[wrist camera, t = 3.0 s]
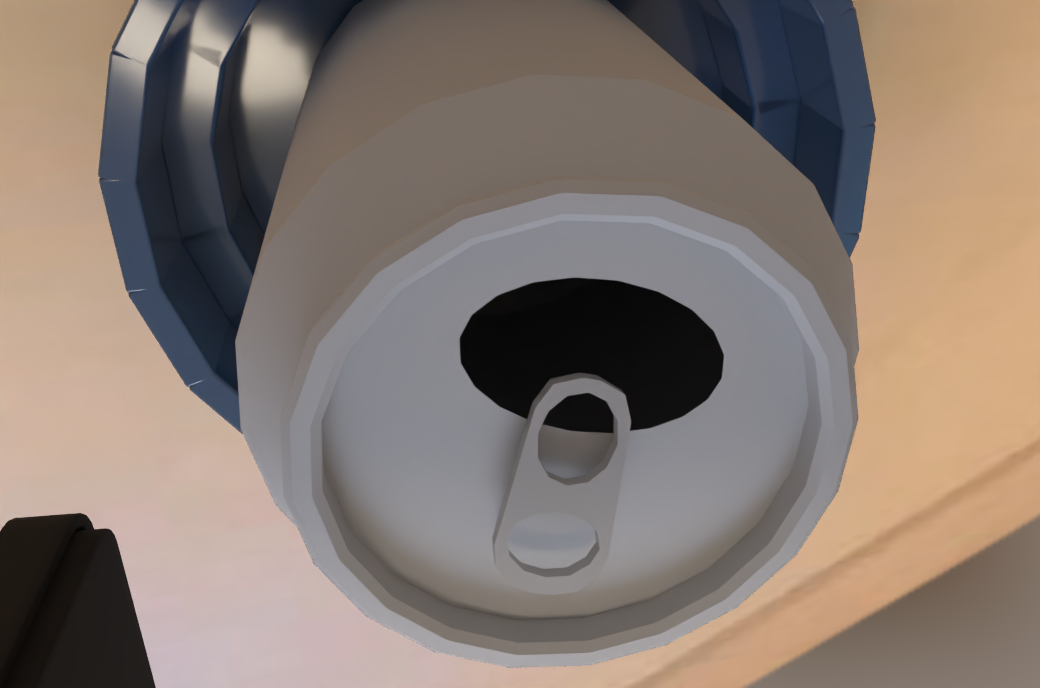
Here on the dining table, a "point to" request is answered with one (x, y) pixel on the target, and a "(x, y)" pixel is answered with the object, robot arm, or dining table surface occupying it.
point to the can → (541, 335)
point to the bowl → (277, 102)
